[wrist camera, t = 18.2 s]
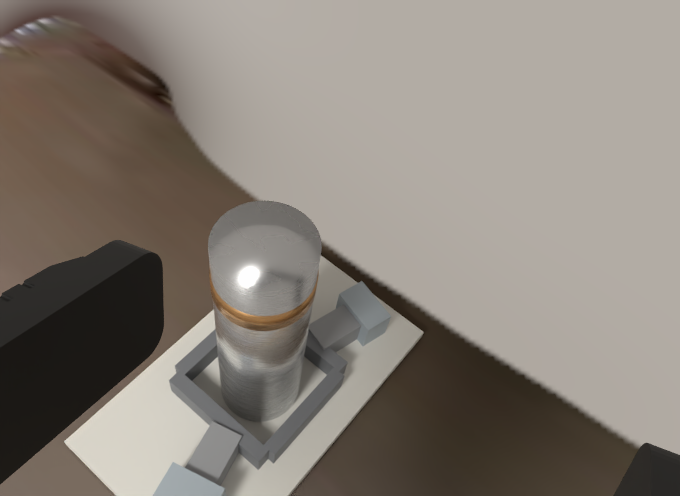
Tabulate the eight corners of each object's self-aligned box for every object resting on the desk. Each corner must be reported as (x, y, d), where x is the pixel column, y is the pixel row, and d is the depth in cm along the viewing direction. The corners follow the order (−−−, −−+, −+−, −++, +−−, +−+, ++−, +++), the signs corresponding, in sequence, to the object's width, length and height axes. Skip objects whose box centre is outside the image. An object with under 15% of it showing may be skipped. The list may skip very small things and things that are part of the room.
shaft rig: (295, 243, 43) (298, 217, 41) (420, 337, 40) (432, 315, 38) (67, 446, 34) (53, 428, 31) (210, 591, 31) (206, 583, 28)
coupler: (297, 346, 38) (318, 200, 27) (302, 420, 35) (327, 291, 24) (220, 349, 37) (208, 199, 26) (219, 424, 35) (205, 293, 23)
